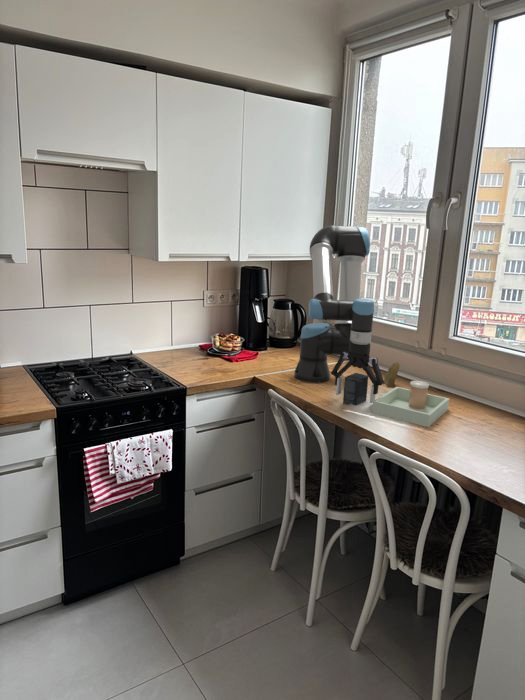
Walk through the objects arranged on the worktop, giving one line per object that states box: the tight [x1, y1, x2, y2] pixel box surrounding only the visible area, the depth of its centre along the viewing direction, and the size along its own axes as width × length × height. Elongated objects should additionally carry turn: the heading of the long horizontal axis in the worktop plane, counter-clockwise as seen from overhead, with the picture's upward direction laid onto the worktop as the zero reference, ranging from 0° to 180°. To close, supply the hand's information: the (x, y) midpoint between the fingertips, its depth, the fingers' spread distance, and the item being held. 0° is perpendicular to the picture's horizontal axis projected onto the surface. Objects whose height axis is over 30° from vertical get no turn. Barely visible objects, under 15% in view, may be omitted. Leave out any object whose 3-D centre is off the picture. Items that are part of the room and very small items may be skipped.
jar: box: [409, 380, 430, 409], centre depth 195 cm, size 7×7×9 cm
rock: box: [383, 361, 401, 389], centre depth 221 cm, size 11×9×10 cm
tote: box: [371, 386, 450, 428], centre depth 190 cm, size 20×22×5 cm
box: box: [342, 372, 369, 406], centre depth 197 cm, size 8×6×11 cm
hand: (355, 398), depth 198 cm, fingers open, 13 cm apart
